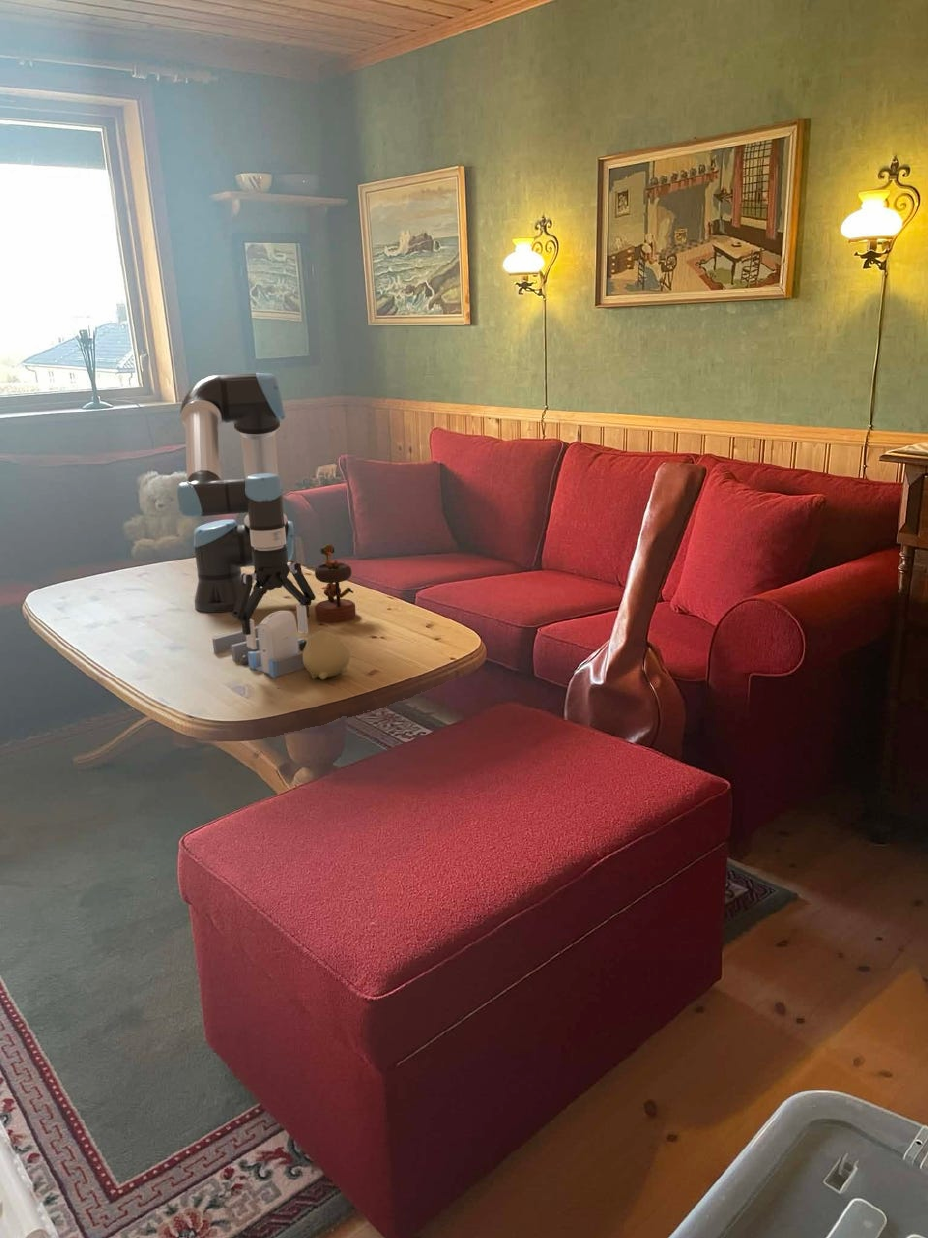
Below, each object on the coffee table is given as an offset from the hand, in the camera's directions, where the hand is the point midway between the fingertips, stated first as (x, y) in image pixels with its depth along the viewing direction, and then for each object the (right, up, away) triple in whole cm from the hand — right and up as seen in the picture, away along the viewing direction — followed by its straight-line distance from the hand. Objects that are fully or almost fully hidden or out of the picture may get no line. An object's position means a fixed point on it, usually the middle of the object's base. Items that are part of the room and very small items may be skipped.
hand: (278, 640), depth 207 cm
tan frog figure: (+11, -8, -5) cm, 15 cm away
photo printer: (0, -6, +1) cm, 6 cm away
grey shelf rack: (-3, -4, +9) cm, 10 cm away
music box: (+8, +5, +38) cm, 39 cm away
